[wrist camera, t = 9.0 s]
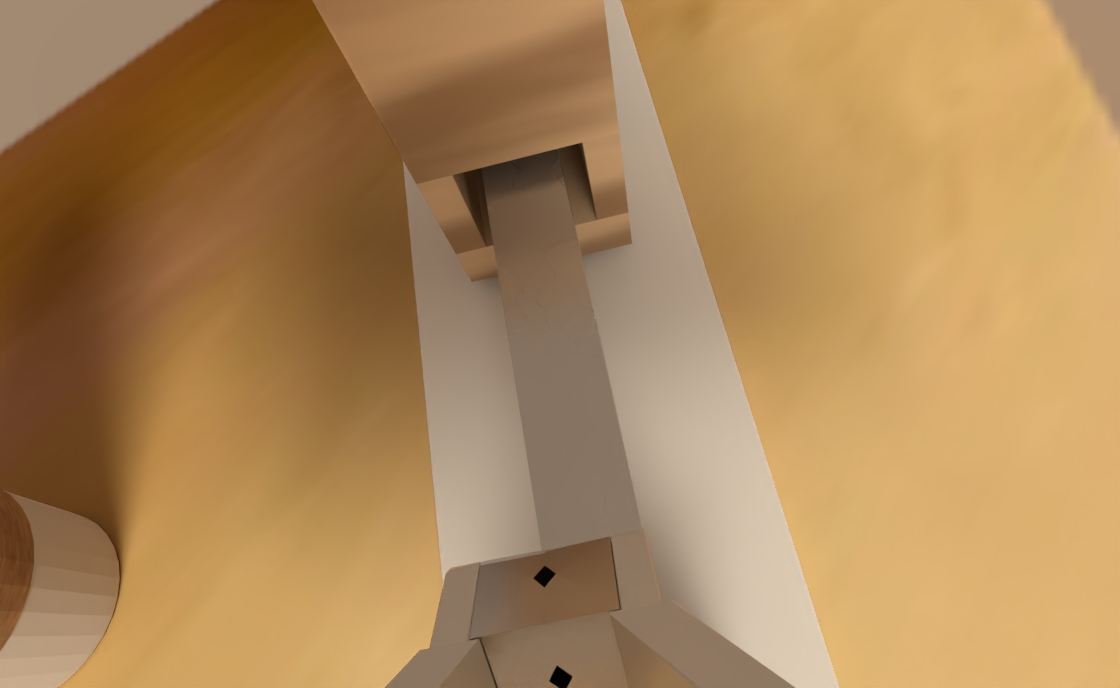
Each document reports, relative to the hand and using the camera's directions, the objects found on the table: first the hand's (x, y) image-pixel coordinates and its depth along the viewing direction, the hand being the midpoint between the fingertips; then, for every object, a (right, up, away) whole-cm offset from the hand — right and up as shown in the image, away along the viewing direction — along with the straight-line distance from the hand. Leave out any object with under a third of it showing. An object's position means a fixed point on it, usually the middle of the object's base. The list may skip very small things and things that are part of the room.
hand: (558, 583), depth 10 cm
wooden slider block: (-1, +9, +14) cm, 16 cm away
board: (0, +5, +13) cm, 14 cm away
